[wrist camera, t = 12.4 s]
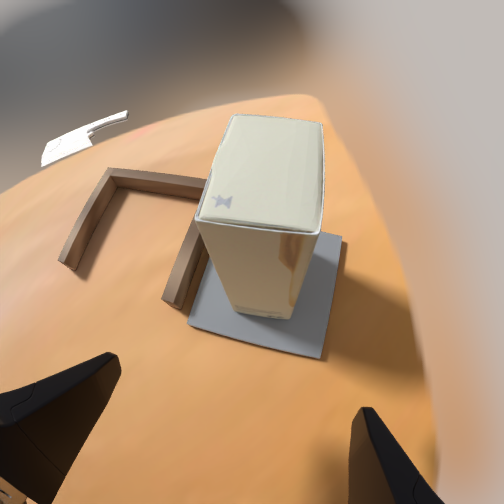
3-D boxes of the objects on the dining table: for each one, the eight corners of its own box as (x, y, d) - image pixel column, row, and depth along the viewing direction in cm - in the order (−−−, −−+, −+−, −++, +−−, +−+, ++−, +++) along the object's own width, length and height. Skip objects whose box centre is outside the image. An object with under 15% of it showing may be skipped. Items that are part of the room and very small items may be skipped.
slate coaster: (318, 358, 19) (320, 358, 18) (188, 325, 20) (186, 323, 20) (340, 239, 23) (342, 236, 22) (227, 215, 24) (226, 211, 24)
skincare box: (291, 321, 19) (323, 246, 8) (231, 312, 20) (187, 228, 9) (300, 242, 22) (326, 118, 11) (247, 235, 23) (230, 109, 11)
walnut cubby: (181, 309, 21) (173, 302, 19) (69, 268, 23) (57, 260, 21) (223, 195, 25) (220, 181, 23) (115, 178, 27) (108, 167, 25)
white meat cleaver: (123, 135, 31) (120, 129, 30) (41, 167, 31) (38, 163, 30) (129, 114, 33) (126, 108, 32) (50, 145, 33) (47, 140, 32)
